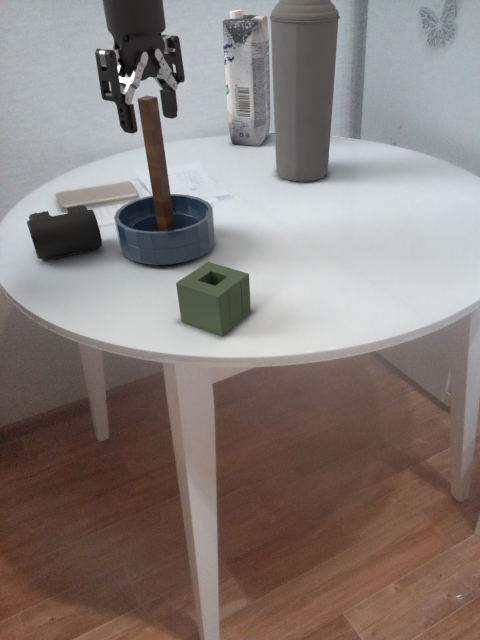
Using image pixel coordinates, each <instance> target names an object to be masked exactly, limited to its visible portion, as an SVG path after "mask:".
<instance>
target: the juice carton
mask: <svg viewBox="0 0 480 640" xmlns="http://www.w3.org/2000/svg"><path fill="white" fill-rule="evenodd" d="M268 22H269V21H268V16H267V15H259V14H244V11H243V9H235V10H230V11H229V18H226V19H224V20H222V45H223V63H224V77H225V95H226V110H227V122H228V123H227V124H228V131H229V136H230V137H229V138H230V141H231V143H232V144H233V145H239V146H240V145H241V146H255V147H258V146H261V145H262V144H263V142H264V141H266V139H267V138H268V137H269V135H270V128H271V76H270V75H271V74H270V73H271V72H270V33H269V23H268Z"/></svg>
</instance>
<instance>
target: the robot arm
mask: <svg viewBox="0 0 480 640" xmlns="http://www.w3.org/2000/svg"><path fill="white" fill-rule="evenodd" d="M102 5H103V11H104V18H105V22H106V23H105V24H106V29H107V31H108V32H109V33H110V35H111V36H112V38H113V47H112V48H109V49H107V48H96V49H95V51H94V55H95V62H96V68H97V76H98V82H99V87H100V88H99V89H100V96H101V99H102V100H103V101H106V102H112V103H114V104H115V105H116V110H117V117H118V122H119V126H120V128H121V129H122V131H123V132H124V133H126V134H136V133H138V123H137V117H136V111H135V105H134V103H132V102H133V99H134V95H135V92H136V90H137V89H139V87H140V85H141V82H142V81H146V80H148V79H149V78H153V79H154V81H155V82H156V83H157V84H158V86H159V87H160V88H161V89H159V95H160V102H161V110H162V115H163V117H164V118H166V119H172V120H173V119H176V118H177V117H178V100H177V93H176V90H177V89H178V85H179V84H180V83H181V84H182V83H184V82H185V80H186V76H185V70H184V62H183V54H182V47H181V40H180V37H179V36H178V35H173V34H162V33H163V32H165V31H166V27H167V25H166V17H165V8H164V1H163V0H102ZM174 68H175V70H174ZM126 76H127V77H126Z"/></svg>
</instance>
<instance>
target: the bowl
mask: <svg viewBox="0 0 480 640" xmlns="http://www.w3.org/2000/svg"><path fill="white" fill-rule="evenodd" d="M170 194H171V201H172V208H173V215H174V223H175V230H171V231H158V226H157V220H156V213H155V207H154V201H153V195H149V196H144V197H140V198H137V199H134V200H131V201H130V202H128V203H125V204H123V205H122V206H121V207H120V208H118V209H117V210H116V212H115V214H114V216H113V220H114V225H115V230H116V234H117V238H118V243H119V248H120V251H121V253H122V255H123V256H125V257H126V258H128V259H129V260H130V261H134V262H137V263H141V264H144V265H145V264H148V265H156V266H166V265H167V266H169V265H176V264H177V265H178V264H182V263H187V262H189V261H192V260H195V259H197V258H200V257H202V256H203V255H205V254H207V253H208V252H210V251H211V250H212V248H213V247H214V246H215V244H216V230H215V219H214V208H213V206H212V205H211V204H210V202H208V201H207V200H205V199H203V198H201V197H198V196H194V195H190V194H181V193H180V194H179V193H170Z"/></svg>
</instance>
